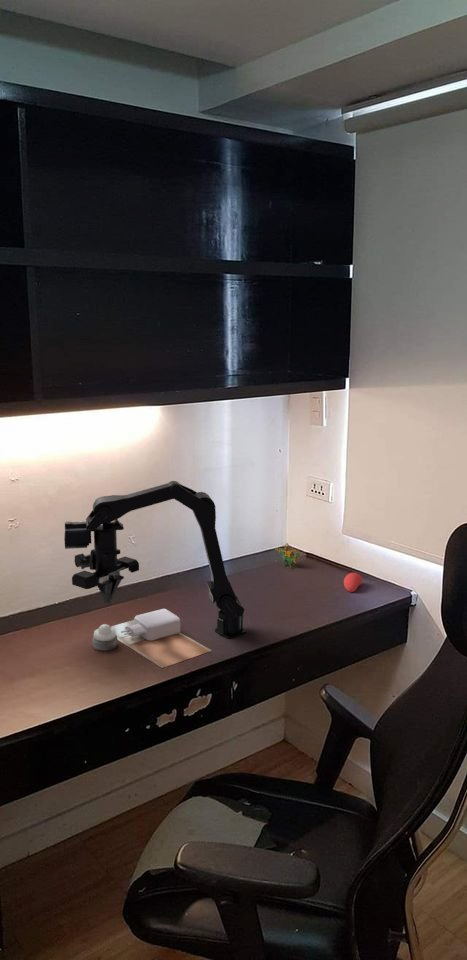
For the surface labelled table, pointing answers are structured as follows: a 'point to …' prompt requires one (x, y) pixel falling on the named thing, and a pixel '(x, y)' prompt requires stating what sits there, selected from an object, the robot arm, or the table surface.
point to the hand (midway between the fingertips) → (107, 603)
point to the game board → (155, 646)
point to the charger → (154, 625)
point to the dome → (104, 633)
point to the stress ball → (352, 581)
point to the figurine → (289, 555)
